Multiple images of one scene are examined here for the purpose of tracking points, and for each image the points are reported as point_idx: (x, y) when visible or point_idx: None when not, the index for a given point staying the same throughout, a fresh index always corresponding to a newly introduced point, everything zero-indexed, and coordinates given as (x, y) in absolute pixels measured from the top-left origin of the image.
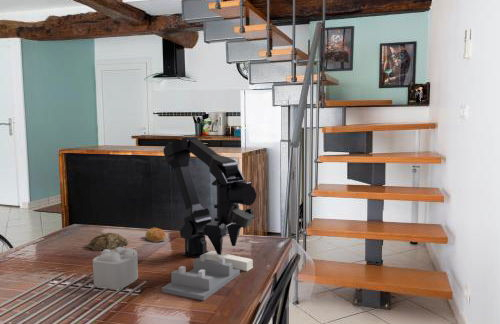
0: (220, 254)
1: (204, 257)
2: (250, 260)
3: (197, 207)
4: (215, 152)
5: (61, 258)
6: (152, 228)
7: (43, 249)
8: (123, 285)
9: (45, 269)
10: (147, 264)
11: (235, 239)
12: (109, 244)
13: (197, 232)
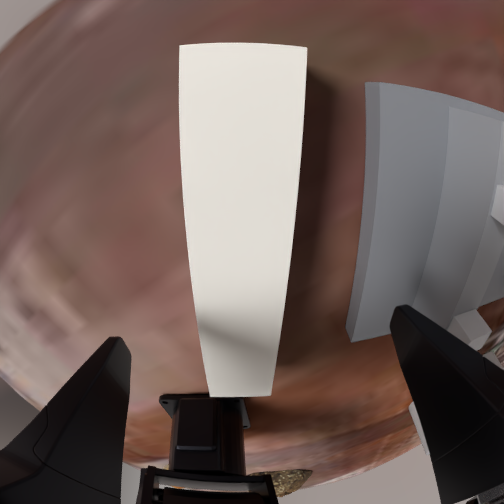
0: (406, 305)
1: (483, 325)
2: (225, 44)
3: None
4: None
5: (358, 463)
6: (181, 488)
7: (328, 479)
8: (491, 355)
9: (404, 445)
10: (358, 420)
11: (95, 388)
12: (294, 479)
13: (252, 502)
